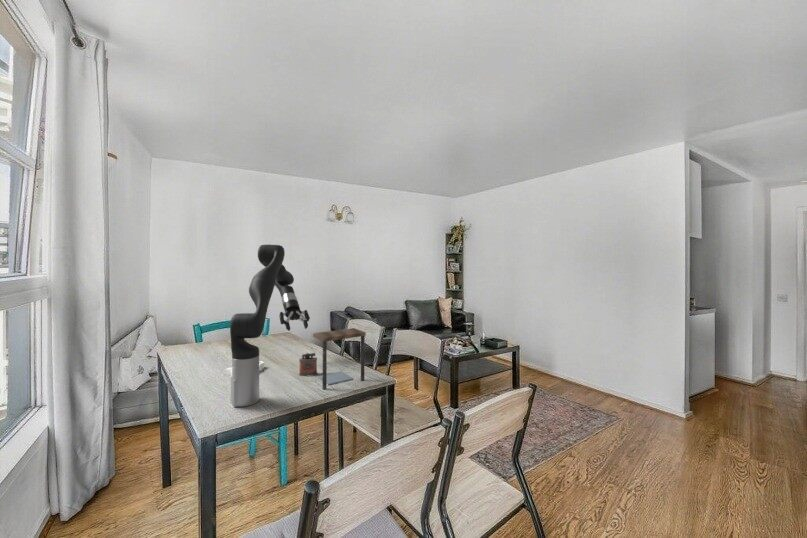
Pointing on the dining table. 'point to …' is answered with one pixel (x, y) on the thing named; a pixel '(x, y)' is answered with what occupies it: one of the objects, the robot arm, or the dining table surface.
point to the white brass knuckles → (229, 370)
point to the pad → (336, 377)
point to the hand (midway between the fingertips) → (298, 328)
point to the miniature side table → (336, 336)
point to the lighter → (308, 364)
